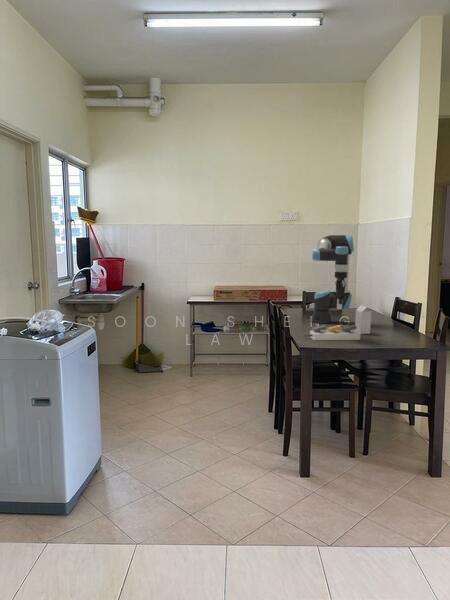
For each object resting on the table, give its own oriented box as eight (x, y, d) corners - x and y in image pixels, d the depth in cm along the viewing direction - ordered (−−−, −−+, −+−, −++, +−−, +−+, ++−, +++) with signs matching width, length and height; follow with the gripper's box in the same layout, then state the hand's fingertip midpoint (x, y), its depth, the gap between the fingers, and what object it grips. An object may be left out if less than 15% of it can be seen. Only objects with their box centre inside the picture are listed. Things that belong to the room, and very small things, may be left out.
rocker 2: (342, 330, 276) (341, 327, 276) (354, 327, 277) (353, 324, 276) (344, 331, 272) (343, 329, 271) (356, 328, 272) (356, 325, 272)
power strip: (302, 336, 276) (302, 329, 276) (354, 336, 279) (354, 328, 278) (306, 340, 266) (306, 332, 266) (360, 339, 269) (360, 332, 268)
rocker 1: (312, 330, 275) (312, 327, 275) (324, 327, 275) (324, 324, 275) (314, 332, 270) (314, 329, 270) (326, 329, 271) (326, 326, 270)
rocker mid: (327, 330, 276) (326, 327, 275) (339, 327, 276) (338, 324, 276) (329, 332, 271) (329, 329, 271) (341, 328, 271) (341, 326, 271)
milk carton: (360, 334, 284) (362, 305, 282) (354, 332, 291) (356, 304, 288) (370, 333, 286) (371, 305, 284) (364, 331, 293) (365, 303, 290)
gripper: (331, 270, 275) (330, 307, 278) (338, 272, 262) (336, 310, 265) (343, 270, 275) (341, 307, 278) (350, 272, 262) (348, 310, 266)
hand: (339, 309), depth 272 cm, fingers closed
